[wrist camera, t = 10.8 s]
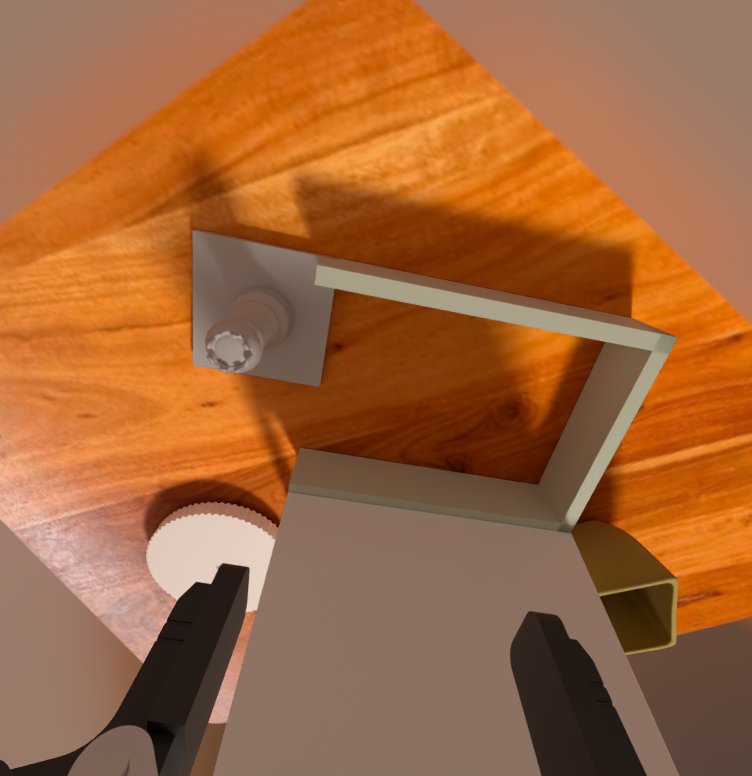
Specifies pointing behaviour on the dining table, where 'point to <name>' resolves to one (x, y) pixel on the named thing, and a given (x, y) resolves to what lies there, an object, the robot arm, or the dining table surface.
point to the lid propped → (410, 646)
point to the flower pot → (629, 586)
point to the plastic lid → (211, 547)
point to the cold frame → (575, 447)
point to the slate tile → (262, 270)
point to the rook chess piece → (249, 330)
